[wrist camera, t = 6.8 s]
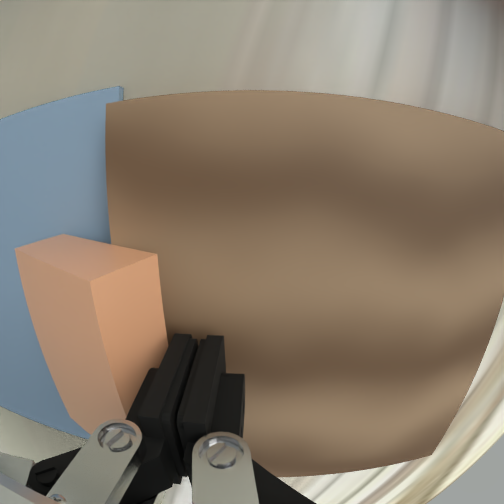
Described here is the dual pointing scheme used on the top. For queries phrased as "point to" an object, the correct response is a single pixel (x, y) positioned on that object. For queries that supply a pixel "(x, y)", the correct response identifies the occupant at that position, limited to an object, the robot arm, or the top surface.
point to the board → (319, 259)
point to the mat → (46, 229)
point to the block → (94, 321)
